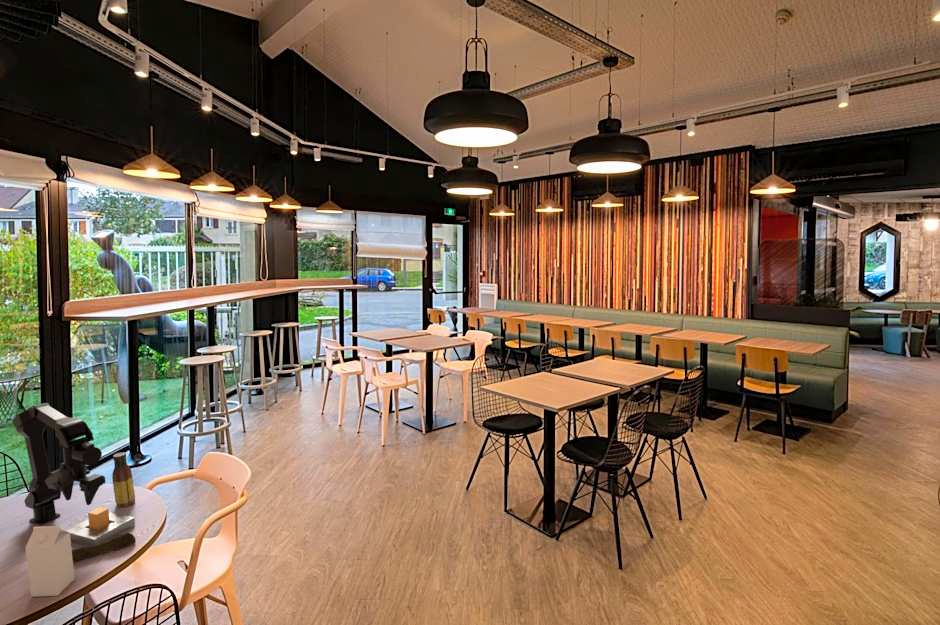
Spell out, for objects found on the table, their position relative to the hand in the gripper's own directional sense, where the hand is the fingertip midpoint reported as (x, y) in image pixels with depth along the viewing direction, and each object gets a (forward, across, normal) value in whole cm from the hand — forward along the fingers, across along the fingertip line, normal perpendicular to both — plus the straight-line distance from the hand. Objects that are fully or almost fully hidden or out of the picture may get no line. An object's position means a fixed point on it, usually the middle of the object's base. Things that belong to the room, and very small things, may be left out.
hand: (78, 502), depth 174 cm
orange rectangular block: (+12, +5, +3) cm, 13 cm away
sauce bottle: (+12, -4, +20) cm, 24 cm away
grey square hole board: (+11, +5, +3) cm, 13 cm away
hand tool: (+12, +16, -6) cm, 21 cm away
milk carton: (+11, +20, -23) cm, 32 cm away
